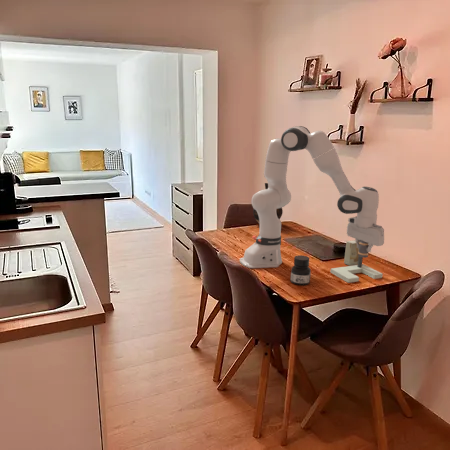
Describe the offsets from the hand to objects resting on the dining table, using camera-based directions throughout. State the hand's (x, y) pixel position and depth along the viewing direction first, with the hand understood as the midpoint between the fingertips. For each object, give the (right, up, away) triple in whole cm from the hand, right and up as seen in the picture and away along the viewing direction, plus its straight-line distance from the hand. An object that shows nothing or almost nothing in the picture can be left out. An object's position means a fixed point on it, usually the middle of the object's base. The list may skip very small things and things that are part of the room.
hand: (363, 249), depth 197 cm
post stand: (-1, -13, +6) cm, 14 cm away
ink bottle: (-31, -15, -4) cm, 35 cm away
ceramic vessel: (-36, +12, +95) cm, 103 cm away
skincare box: (+1, -9, +21) cm, 23 cm away
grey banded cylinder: (0, -3, +1) cm, 3 cm away
